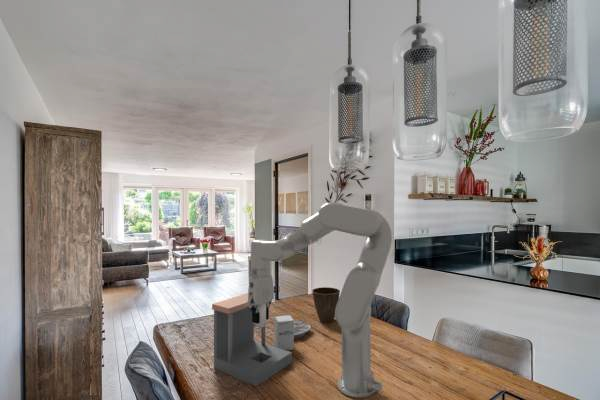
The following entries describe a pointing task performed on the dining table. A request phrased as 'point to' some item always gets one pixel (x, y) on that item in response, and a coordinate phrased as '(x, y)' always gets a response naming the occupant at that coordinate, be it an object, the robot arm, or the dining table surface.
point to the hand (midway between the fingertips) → (260, 320)
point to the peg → (262, 315)
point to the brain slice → (300, 329)
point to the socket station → (243, 344)
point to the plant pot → (325, 303)
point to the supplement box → (284, 332)
